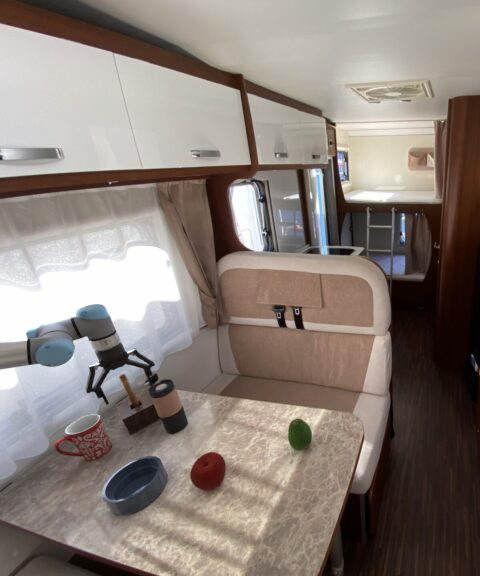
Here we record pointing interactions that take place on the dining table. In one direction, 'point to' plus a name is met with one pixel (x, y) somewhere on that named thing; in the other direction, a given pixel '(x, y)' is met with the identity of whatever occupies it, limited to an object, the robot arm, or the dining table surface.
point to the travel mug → (168, 406)
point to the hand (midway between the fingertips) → (129, 392)
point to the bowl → (135, 485)
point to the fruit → (299, 434)
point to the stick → (129, 390)
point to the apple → (208, 471)
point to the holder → (138, 413)
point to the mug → (86, 438)
